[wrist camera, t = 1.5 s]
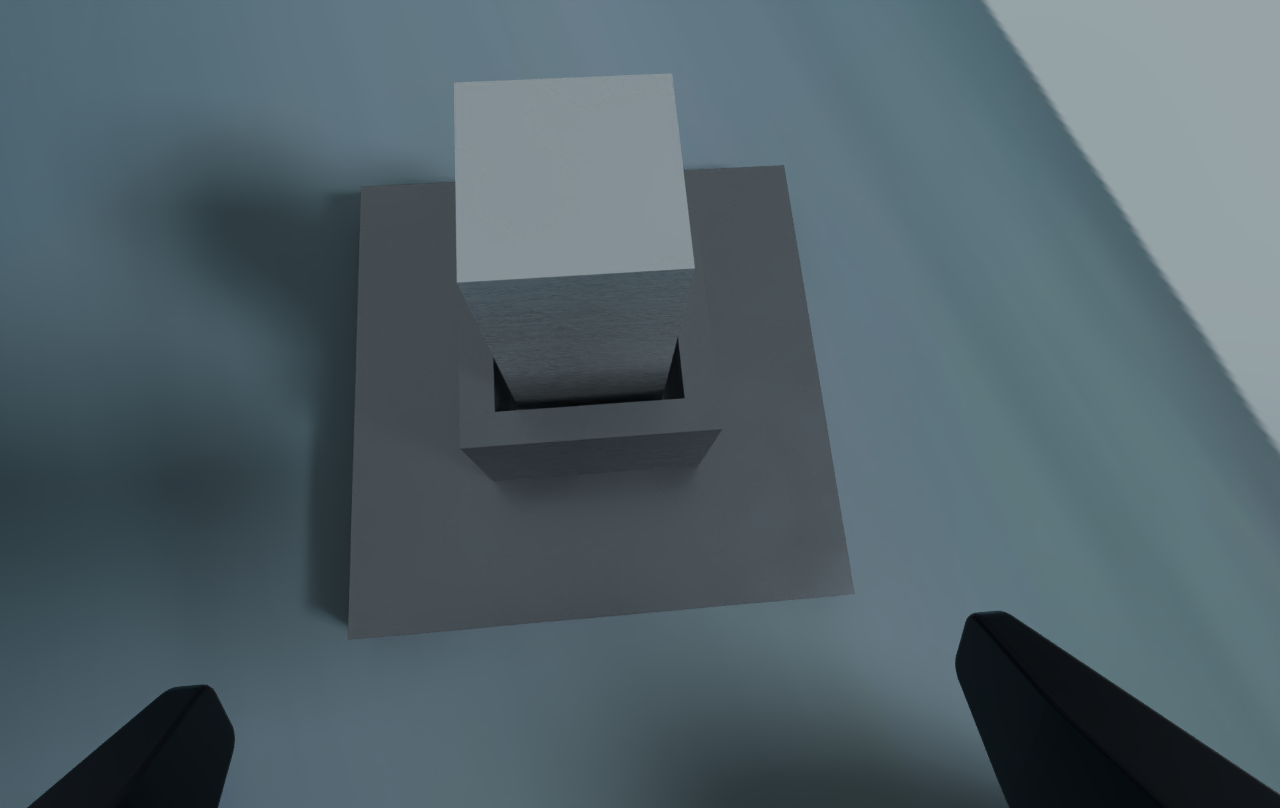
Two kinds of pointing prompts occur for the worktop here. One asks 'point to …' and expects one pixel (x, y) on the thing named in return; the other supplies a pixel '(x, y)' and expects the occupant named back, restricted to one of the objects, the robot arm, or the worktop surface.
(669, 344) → the block
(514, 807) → the worktop surface
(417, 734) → the worktop surface
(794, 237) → the stand
